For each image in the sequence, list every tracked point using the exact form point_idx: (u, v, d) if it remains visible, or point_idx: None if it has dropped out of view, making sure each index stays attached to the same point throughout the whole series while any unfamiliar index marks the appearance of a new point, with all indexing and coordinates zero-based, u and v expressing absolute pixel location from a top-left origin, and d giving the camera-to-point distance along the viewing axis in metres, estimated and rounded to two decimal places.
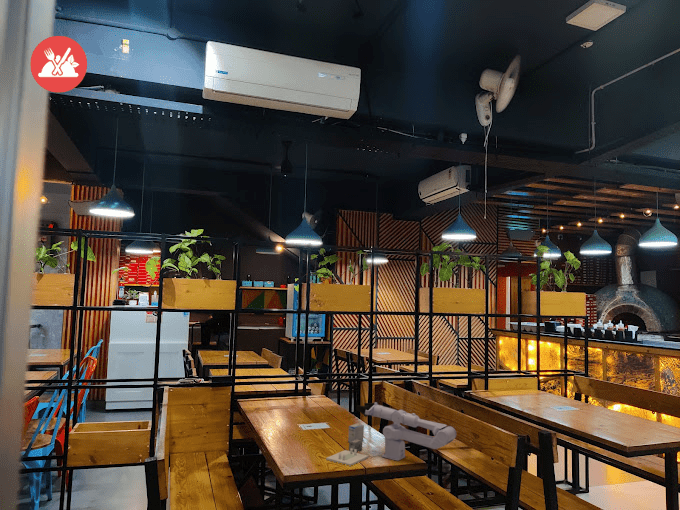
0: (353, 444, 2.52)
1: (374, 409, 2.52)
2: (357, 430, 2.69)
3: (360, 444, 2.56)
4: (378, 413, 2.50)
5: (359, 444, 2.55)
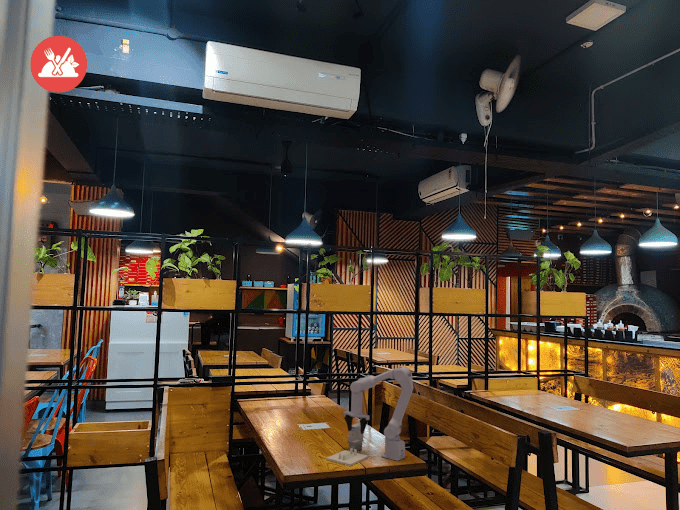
0: (353, 444, 2.52)
1: (359, 413, 2.54)
2: (357, 430, 2.69)
3: (360, 444, 2.56)
4: (361, 408, 2.55)
5: (359, 444, 2.55)
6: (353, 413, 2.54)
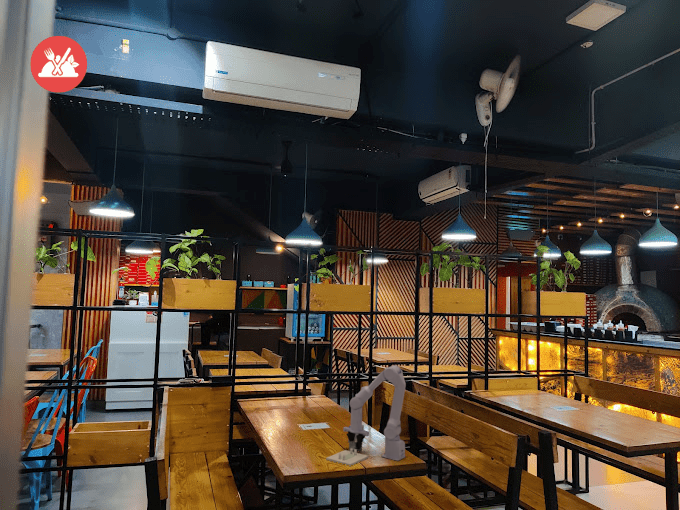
0: (353, 444, 2.52)
1: (359, 429, 2.53)
2: None
3: None
4: (361, 424, 2.54)
5: None
6: (353, 429, 2.53)
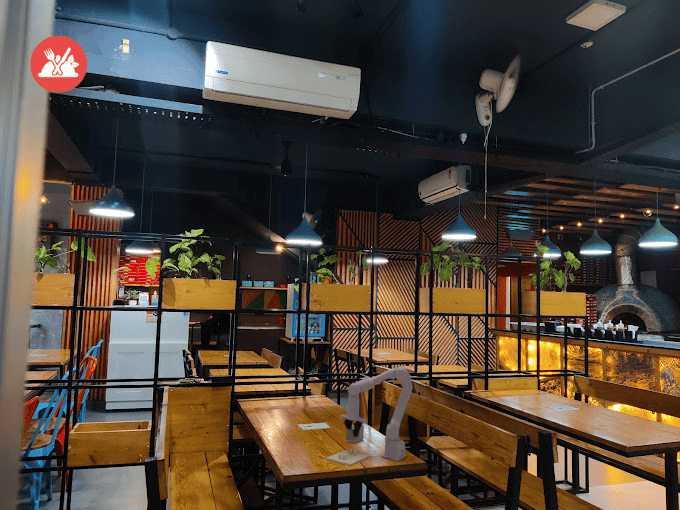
0: (350, 431, 2.47)
1: (356, 416, 2.49)
2: None
3: None
4: (358, 411, 2.50)
5: None
6: (350, 416, 2.49)
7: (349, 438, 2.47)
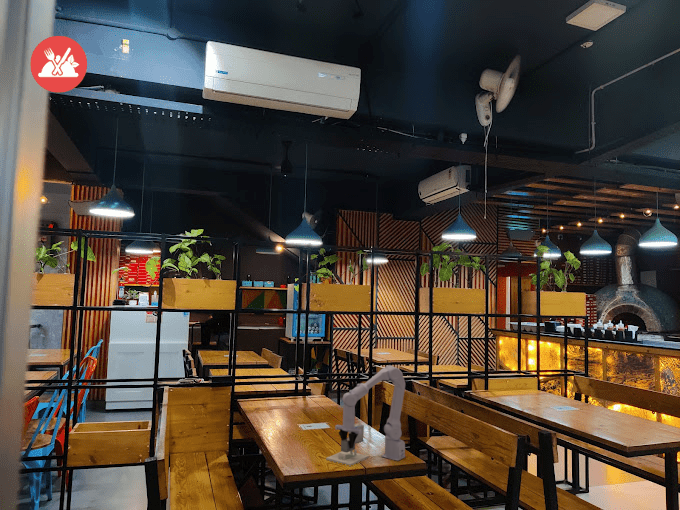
0: (345, 442, 2.39)
1: (351, 427, 2.41)
2: None
3: None
4: (353, 422, 2.42)
5: None
6: (345, 427, 2.41)
7: (344, 450, 2.39)
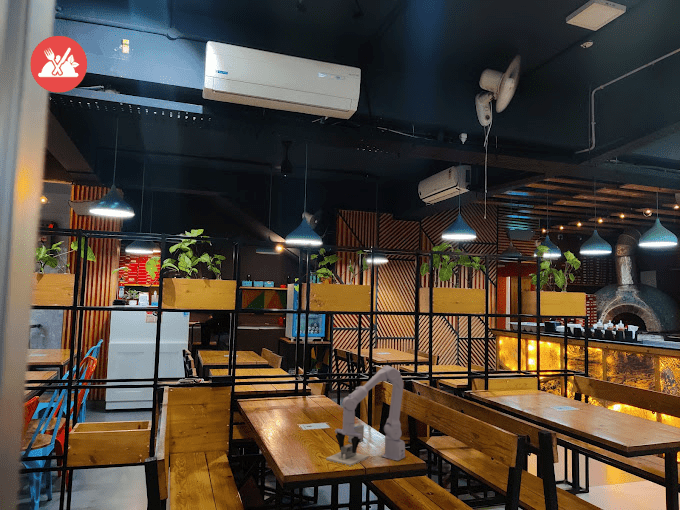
0: (345, 449, 2.39)
1: (351, 431, 2.41)
2: (357, 430, 2.69)
3: None
4: (353, 426, 2.42)
5: (351, 450, 2.42)
6: (345, 431, 2.41)
7: None
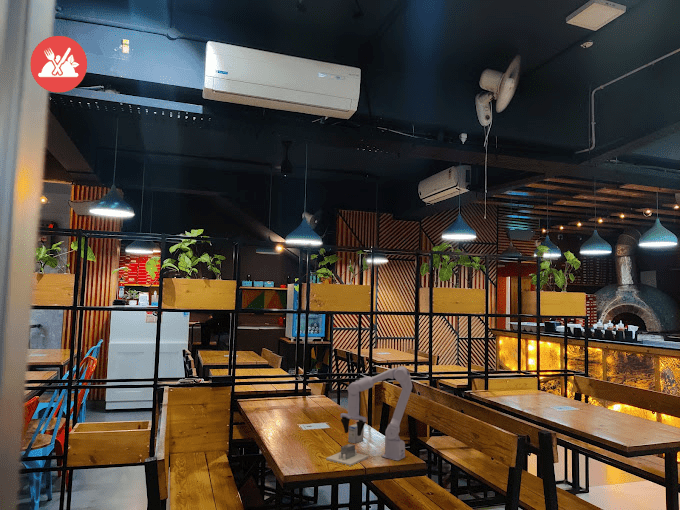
0: (345, 449, 2.39)
1: (356, 415, 2.51)
2: (357, 430, 2.69)
3: (353, 449, 2.43)
4: (358, 410, 2.52)
5: (351, 450, 2.42)
6: (350, 415, 2.51)
7: None
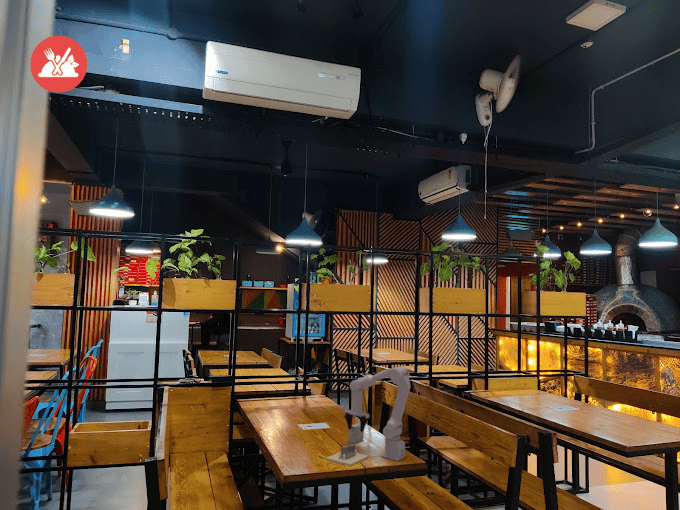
0: (345, 449, 2.39)
1: (359, 411, 2.58)
2: (357, 430, 2.69)
3: (353, 449, 2.43)
4: (361, 406, 2.59)
5: (351, 450, 2.42)
6: (353, 411, 2.58)
7: None
